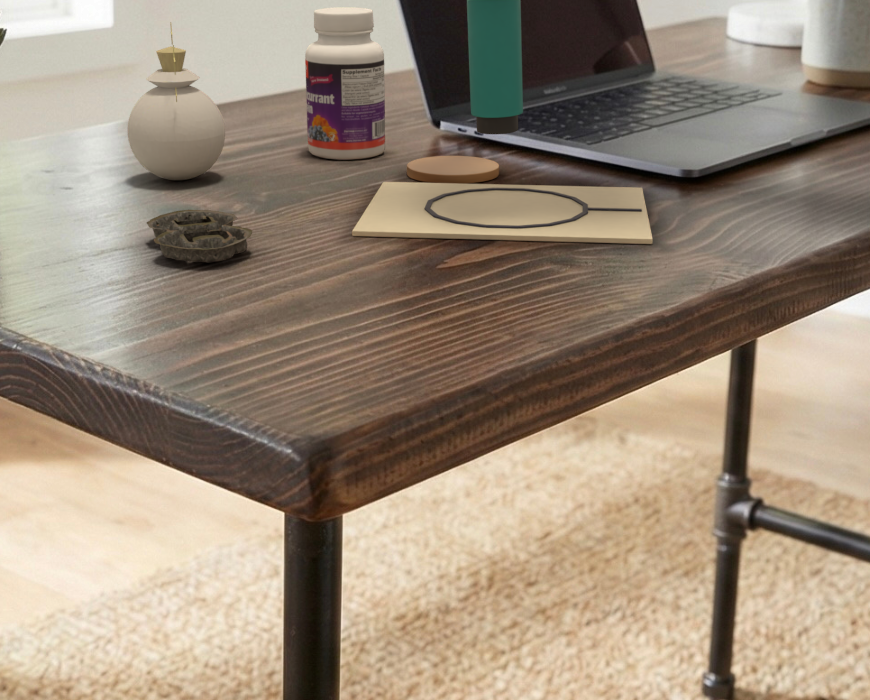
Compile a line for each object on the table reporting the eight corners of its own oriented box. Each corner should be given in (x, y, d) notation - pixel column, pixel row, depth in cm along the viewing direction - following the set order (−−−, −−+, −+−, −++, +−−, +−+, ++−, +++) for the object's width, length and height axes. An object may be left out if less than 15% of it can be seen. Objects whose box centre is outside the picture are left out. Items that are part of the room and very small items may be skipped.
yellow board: (641, 192, 80) (642, 185, 79) (652, 244, 68) (652, 237, 68) (383, 186, 81) (383, 179, 81) (352, 236, 70) (352, 228, 70)
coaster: (501, 165, 87) (501, 156, 87) (496, 185, 81) (496, 175, 81) (412, 163, 88) (412, 154, 87) (401, 183, 82) (401, 173, 82)
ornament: (223, 167, 86) (215, 12, 83) (233, 192, 80) (224, 25, 76) (130, 171, 85) (118, 14, 82) (132, 197, 78) (118, 27, 75)
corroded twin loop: (230, 223, 72) (229, 205, 72) (264, 261, 65) (263, 241, 64) (138, 231, 70) (137, 213, 70) (163, 271, 63) (162, 250, 63)
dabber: (526, 124, 77) (521, -109, 72) (524, 135, 74) (518, -108, 69) (472, 126, 77) (463, -106, 72) (467, 136, 74) (458, -106, 70)
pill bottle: (295, 149, 92) (290, 8, 88) (363, 142, 94) (361, 4, 91) (328, 164, 87) (324, 15, 84) (398, 155, 90) (397, 11, 87)
